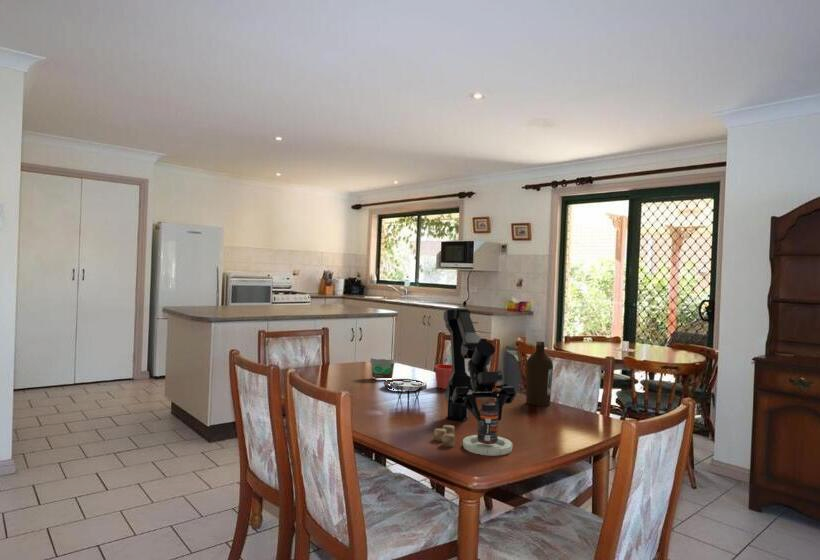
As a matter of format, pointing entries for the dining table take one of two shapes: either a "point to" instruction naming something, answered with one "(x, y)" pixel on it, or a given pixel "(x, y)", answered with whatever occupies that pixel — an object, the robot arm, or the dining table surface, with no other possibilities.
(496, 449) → the round tray
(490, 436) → the supplement bottle
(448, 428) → the wooden bead
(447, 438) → the wooden bead
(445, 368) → the flower pot
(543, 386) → the olive oil
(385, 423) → the dining table surface
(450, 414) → the robot arm
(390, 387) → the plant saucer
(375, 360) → the food container
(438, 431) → the wooden bead
